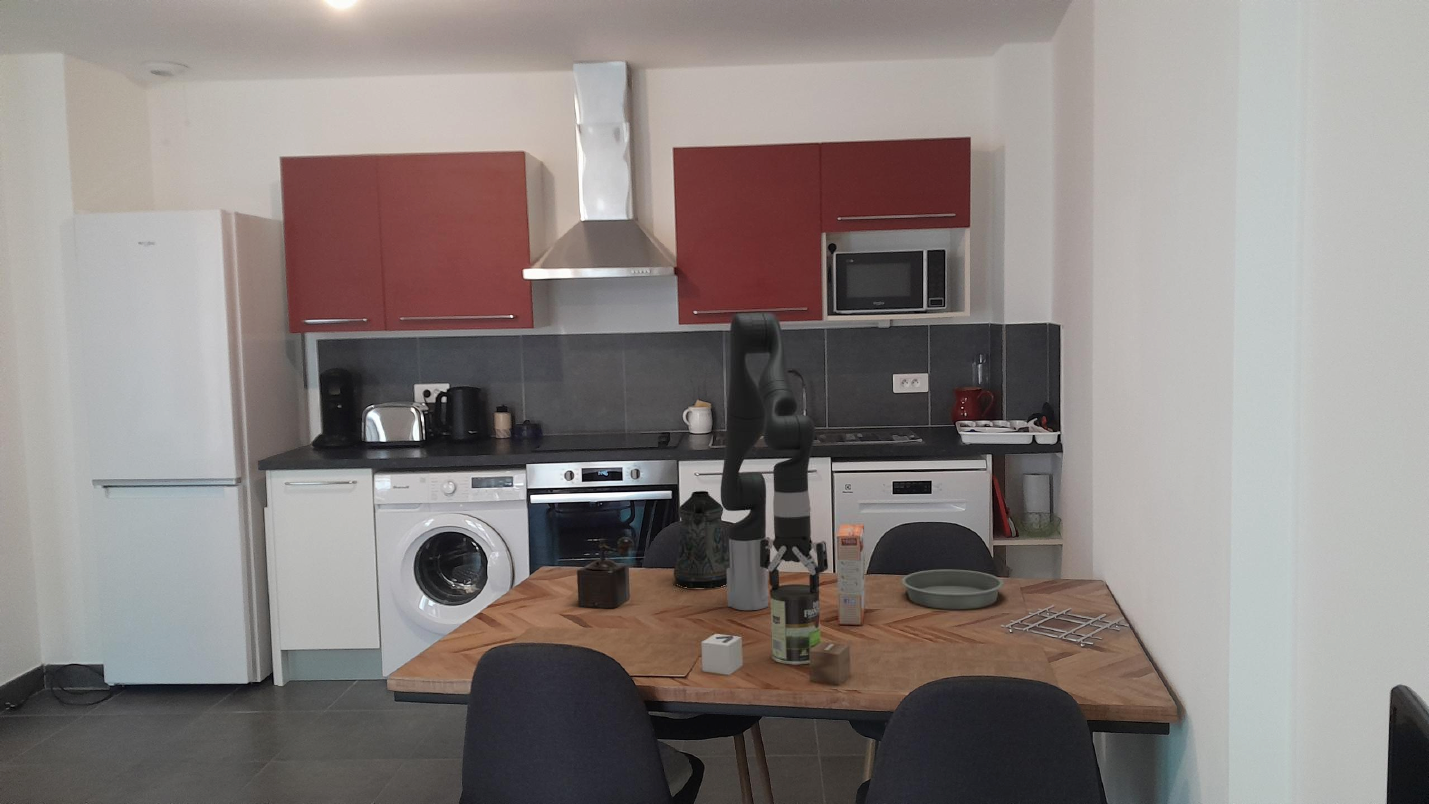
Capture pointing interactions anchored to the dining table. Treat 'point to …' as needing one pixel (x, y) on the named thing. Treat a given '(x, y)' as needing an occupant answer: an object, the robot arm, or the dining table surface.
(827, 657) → the walnut block
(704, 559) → the dark ornate jug
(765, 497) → the robot arm
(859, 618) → the cracker box
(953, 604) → the cake pan
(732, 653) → the offwhite block
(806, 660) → the coffee can
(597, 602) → the manual coffee grinder
